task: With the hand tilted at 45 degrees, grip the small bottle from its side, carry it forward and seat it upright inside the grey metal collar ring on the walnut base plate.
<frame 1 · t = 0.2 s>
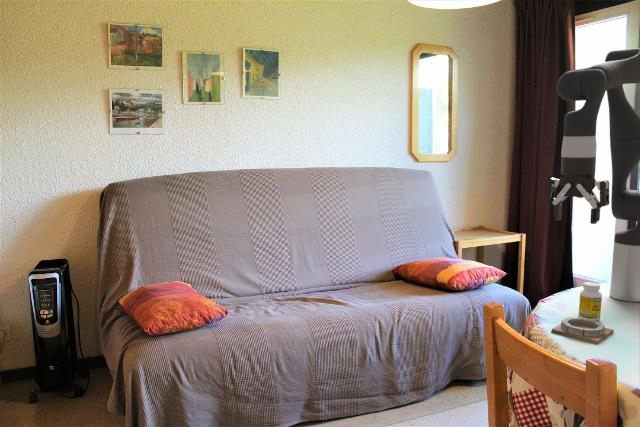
hand: (575, 221, 133), 29 cm above the table, tool pointing down, fingers open, 8 cm apart
supplement bottle: (589, 318, 149), on the table
collar: (582, 332, 138), on the table
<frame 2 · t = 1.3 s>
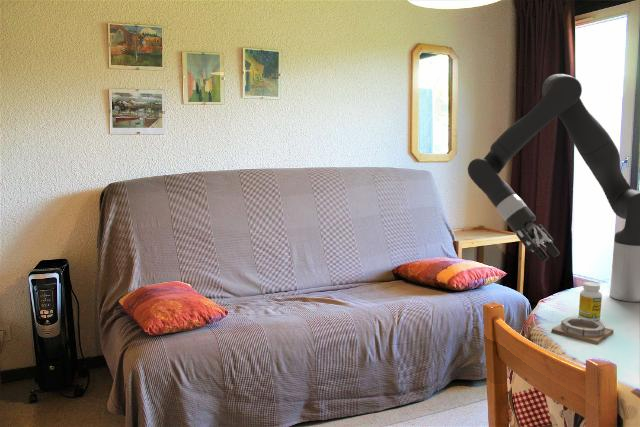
hand: (551, 257, 155), 15 cm above the table, tool tilted 45°, fingers open, 8 cm apart
nothing on the table moved.
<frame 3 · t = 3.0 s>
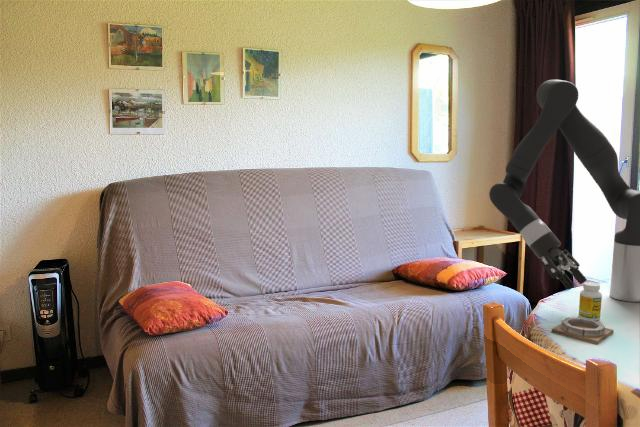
hand: (577, 285, 151), 8 cm above the table, tool tilted 45°, fingers open, 8 cm apart
nothing on the table moved.
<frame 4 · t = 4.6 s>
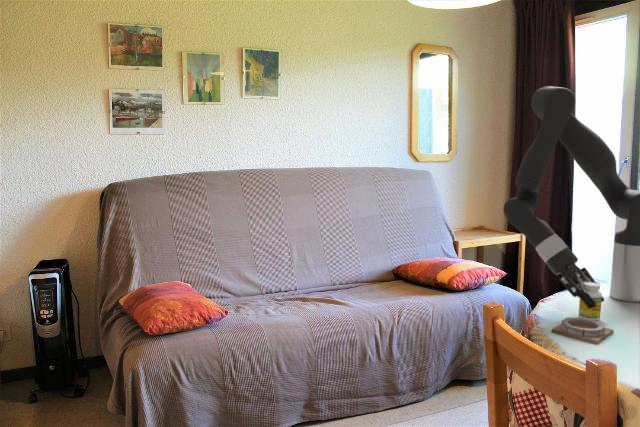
hand: (597, 304, 147), 4 cm above the table, tool tilted 45°, fingers closed on supplement bottle, 5 cm apart
supplement bottle: (589, 318, 149), on the table, touching gripper
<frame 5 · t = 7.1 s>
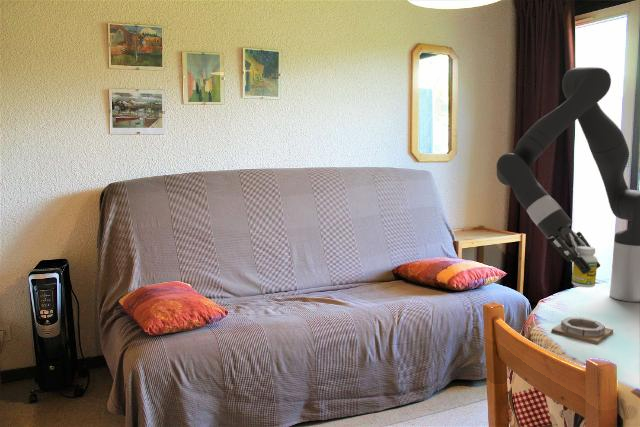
hand: (592, 269, 135), 16 cm above the table, tool tilted 45°, fingers closed on supplement bottle, 5 cm apart
supplement bottle: (583, 285, 137), point 12 cm above the table, touching gripper
when the fingers open (6 cm above the table, at t = 9.5 s): supplement bottle drops 1 cm, resting on collar.
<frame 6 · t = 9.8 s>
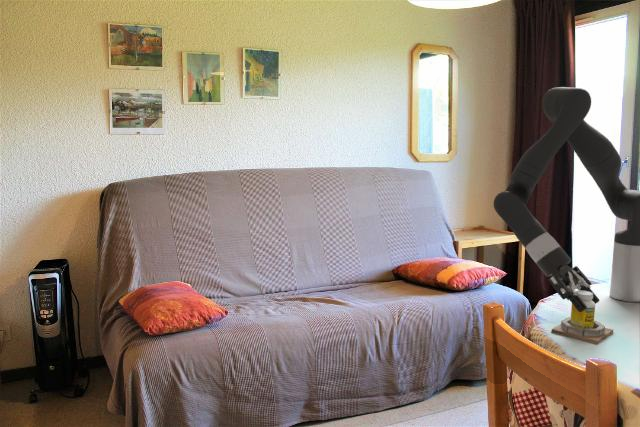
hand: (590, 306, 136), 7 cm above the table, tool tilted 45°, fingers open, 8 cm apart
supplement bottle: (581, 329, 138), point 1 cm above the table, touching collar
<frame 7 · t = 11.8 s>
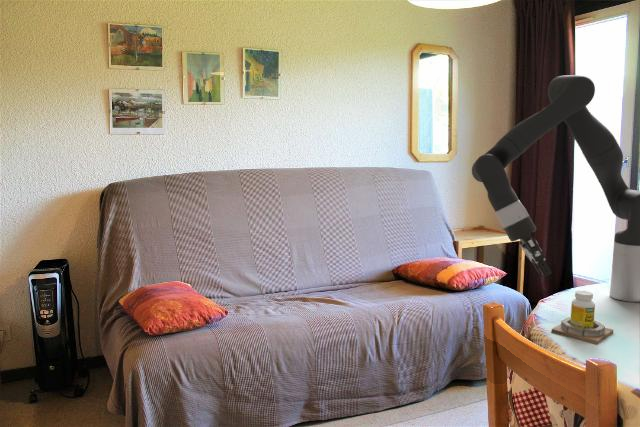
hand: (545, 273, 147), 12 cm above the table, tool tilted 30°, fingers open, 8 cm apart
nothing on the table moved.
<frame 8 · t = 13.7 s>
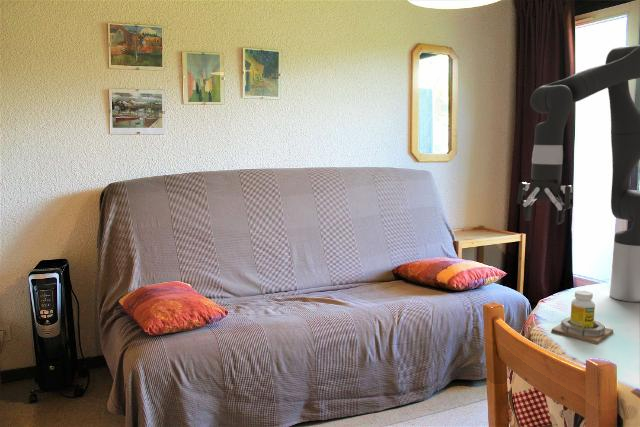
hand: (543, 222, 148), 26 cm above the table, tool pointing down, fingers open, 8 cm apart
nothing on the table moved.
at the end: supplement bottle 0.3 cm off-centre on the collar, point 0.6 cm above the collar's base; supplement bottle tilted 0°; the gripper is holding nothing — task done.
